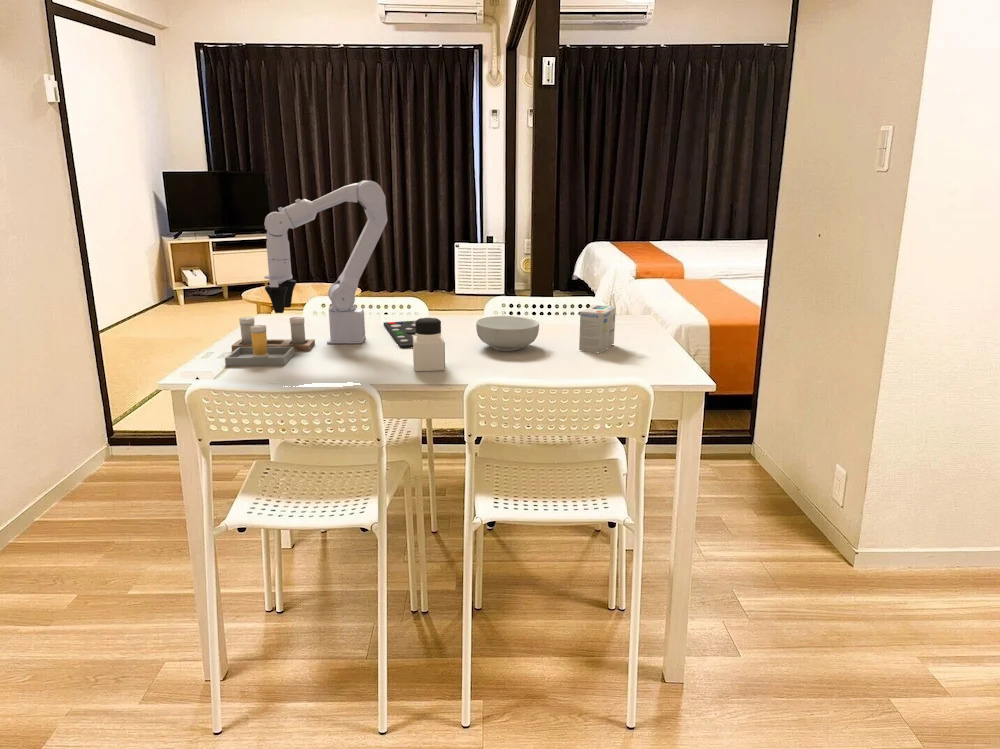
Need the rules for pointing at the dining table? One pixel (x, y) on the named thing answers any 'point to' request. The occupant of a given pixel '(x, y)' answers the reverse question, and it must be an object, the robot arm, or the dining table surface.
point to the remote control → (402, 332)
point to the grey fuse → (297, 330)
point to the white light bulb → (246, 329)
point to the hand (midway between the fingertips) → (282, 310)
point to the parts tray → (245, 357)
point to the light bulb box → (597, 328)
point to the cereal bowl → (507, 332)
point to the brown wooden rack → (280, 344)
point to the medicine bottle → (428, 345)
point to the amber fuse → (259, 341)
